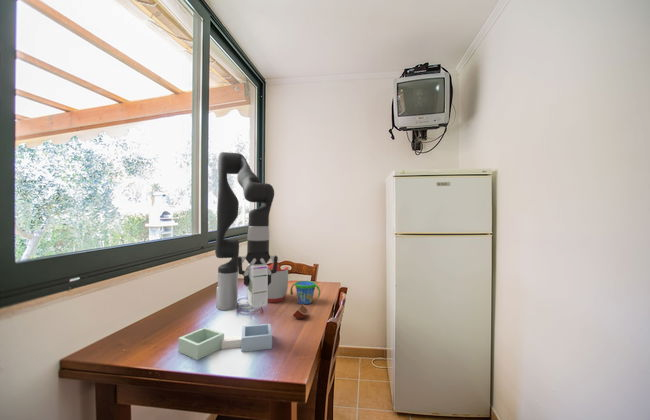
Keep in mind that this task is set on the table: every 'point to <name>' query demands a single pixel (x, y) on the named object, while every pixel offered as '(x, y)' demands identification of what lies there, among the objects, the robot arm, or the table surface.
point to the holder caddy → (225, 340)
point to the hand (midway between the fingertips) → (257, 285)
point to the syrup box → (258, 285)
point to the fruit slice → (301, 312)
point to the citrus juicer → (278, 284)
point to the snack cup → (305, 291)
